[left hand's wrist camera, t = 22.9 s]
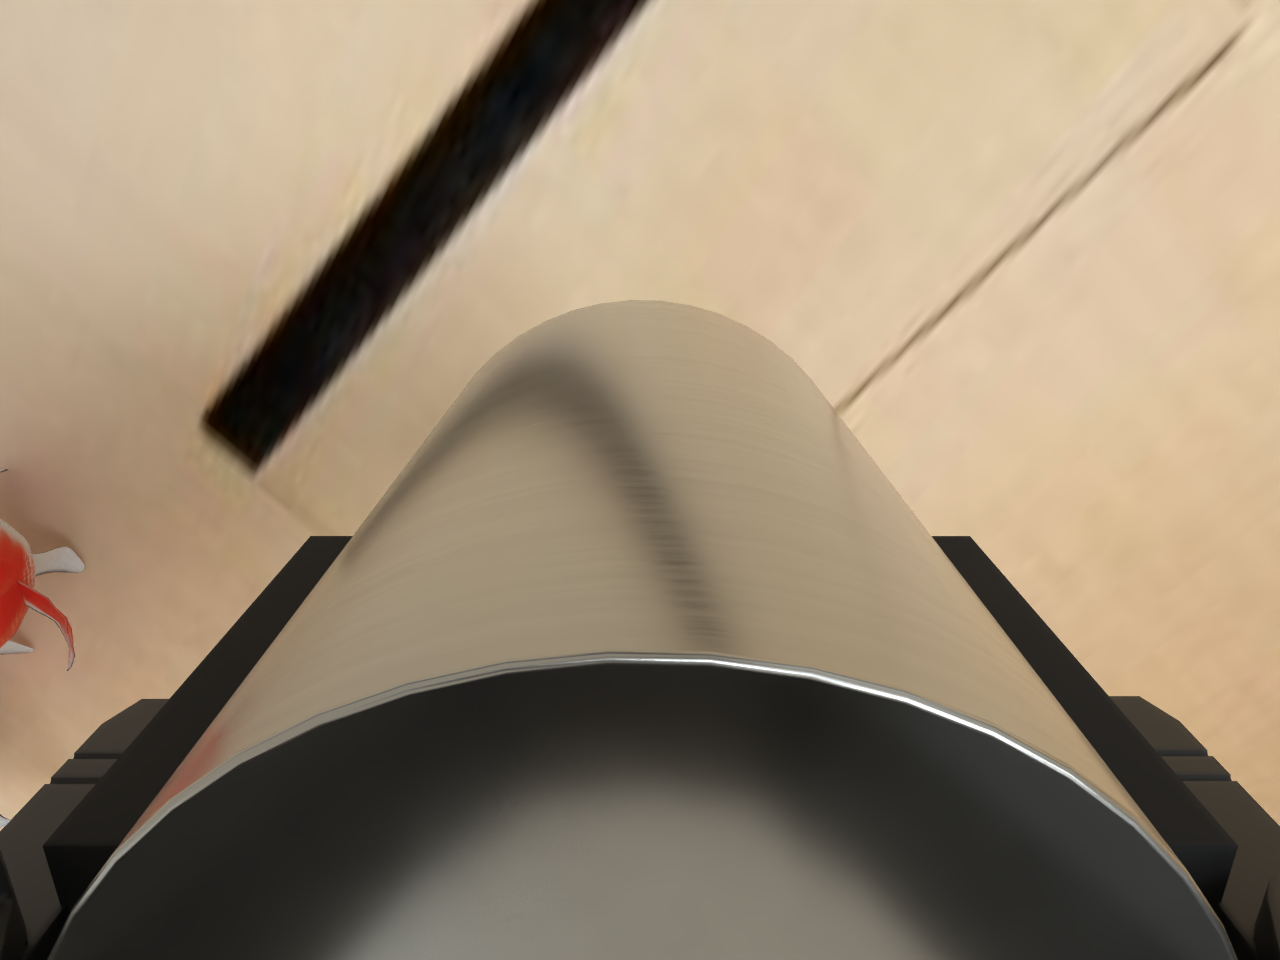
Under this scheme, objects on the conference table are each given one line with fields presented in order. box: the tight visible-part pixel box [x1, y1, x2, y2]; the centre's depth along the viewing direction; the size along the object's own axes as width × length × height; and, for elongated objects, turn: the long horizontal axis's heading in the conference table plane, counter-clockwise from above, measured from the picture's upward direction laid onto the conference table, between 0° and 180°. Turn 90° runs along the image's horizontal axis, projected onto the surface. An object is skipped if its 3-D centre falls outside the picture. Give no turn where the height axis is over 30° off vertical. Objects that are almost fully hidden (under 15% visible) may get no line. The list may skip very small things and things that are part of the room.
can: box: [47, 300, 1238, 960], centre depth 12 cm, size 9×9×13 cm
